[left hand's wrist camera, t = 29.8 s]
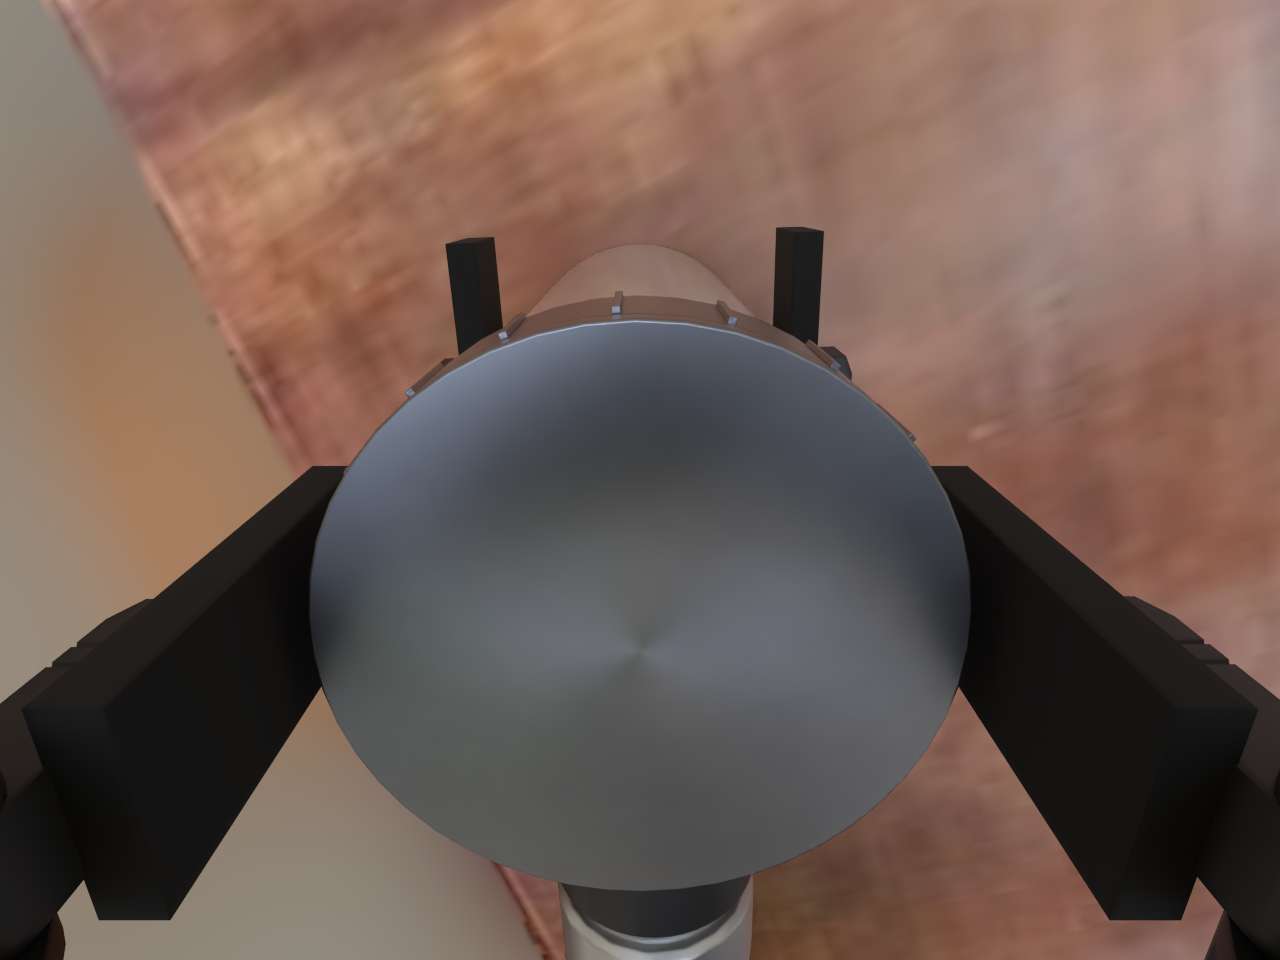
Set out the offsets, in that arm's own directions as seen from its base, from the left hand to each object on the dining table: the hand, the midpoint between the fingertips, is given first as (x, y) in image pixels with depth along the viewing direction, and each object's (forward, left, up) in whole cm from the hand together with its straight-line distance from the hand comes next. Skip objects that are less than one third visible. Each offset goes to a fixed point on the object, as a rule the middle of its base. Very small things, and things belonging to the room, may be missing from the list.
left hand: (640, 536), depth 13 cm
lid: (0, 0, +3) cm, 3 cm away
